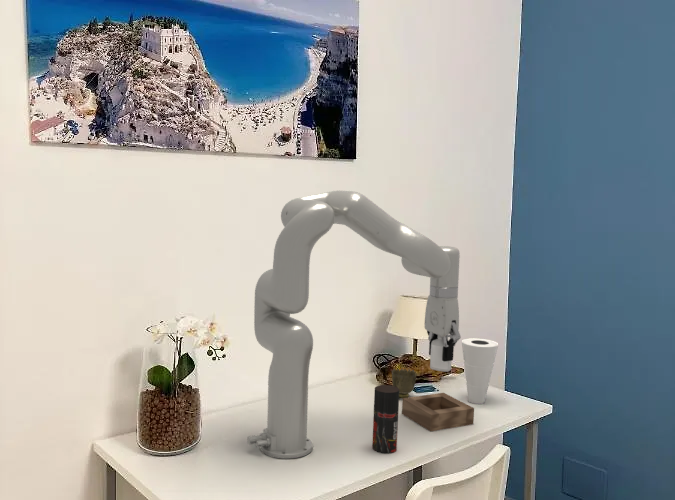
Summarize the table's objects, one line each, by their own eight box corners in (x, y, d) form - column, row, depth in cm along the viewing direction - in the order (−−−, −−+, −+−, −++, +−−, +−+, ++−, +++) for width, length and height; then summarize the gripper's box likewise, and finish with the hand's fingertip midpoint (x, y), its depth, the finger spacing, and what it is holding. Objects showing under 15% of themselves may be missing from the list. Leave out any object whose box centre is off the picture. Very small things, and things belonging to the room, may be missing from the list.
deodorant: (393, 455, 159) (396, 394, 158) (369, 451, 161) (372, 390, 159) (398, 445, 165) (401, 386, 163) (375, 442, 166) (377, 383, 165)
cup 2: (467, 393, 208) (470, 336, 206) (500, 400, 202) (503, 342, 200) (452, 401, 199) (455, 342, 197) (485, 410, 193) (489, 349, 191)
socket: (430, 431, 175) (431, 414, 174) (401, 413, 187) (402, 398, 187) (473, 424, 181) (474, 408, 181) (442, 407, 194) (443, 392, 193)
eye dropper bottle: (440, 373, 179) (442, 329, 178) (427, 367, 184) (429, 325, 183) (453, 371, 182) (455, 327, 180) (440, 365, 186) (441, 323, 185)
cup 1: (416, 402, 198) (417, 375, 197) (391, 401, 198) (392, 374, 197) (413, 393, 205) (415, 368, 204) (389, 393, 205) (391, 367, 204)
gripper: (414, 287, 186) (412, 351, 188) (451, 298, 171) (448, 367, 173) (436, 286, 190) (434, 348, 192) (475, 297, 175) (471, 364, 177)
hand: (440, 357), depth 183 cm, fingers closed on eye dropper bottle, 5 cm apart
